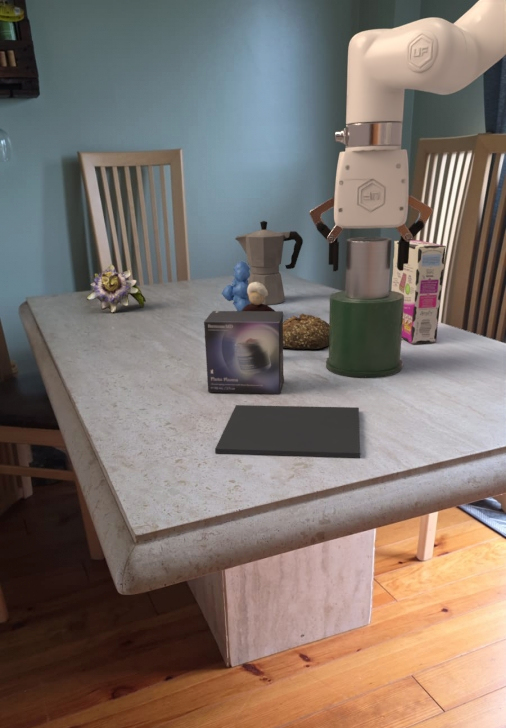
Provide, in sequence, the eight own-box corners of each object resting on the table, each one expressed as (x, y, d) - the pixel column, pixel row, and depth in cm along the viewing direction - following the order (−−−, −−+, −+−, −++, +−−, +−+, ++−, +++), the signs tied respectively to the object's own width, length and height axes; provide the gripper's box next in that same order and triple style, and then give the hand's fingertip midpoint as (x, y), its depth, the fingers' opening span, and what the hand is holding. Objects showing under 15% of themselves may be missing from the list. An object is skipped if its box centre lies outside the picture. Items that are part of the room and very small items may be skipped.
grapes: (223, 316, 134) (220, 258, 130) (254, 314, 134) (253, 257, 130) (222, 328, 124) (218, 266, 119) (255, 327, 124) (253, 265, 119)
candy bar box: (438, 343, 109) (447, 245, 102) (411, 345, 108) (418, 246, 101) (412, 328, 119) (419, 238, 112) (387, 330, 118) (392, 240, 111)
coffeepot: (236, 306, 144) (232, 223, 136) (239, 298, 152) (236, 220, 145) (303, 304, 143) (303, 221, 135) (302, 296, 151) (302, 218, 144)
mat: (358, 411, 80) (358, 407, 80) (359, 457, 67) (360, 452, 67) (236, 409, 82) (235, 404, 82) (215, 453, 70) (214, 448, 69)
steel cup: (387, 291, 96) (390, 236, 92) (389, 299, 90) (393, 241, 87) (345, 291, 97) (346, 237, 93) (345, 299, 91) (346, 241, 87)
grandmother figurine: (236, 364, 101) (232, 284, 96) (236, 357, 105) (232, 280, 99) (283, 362, 101) (282, 282, 96) (281, 355, 105) (280, 278, 99)
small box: (206, 394, 88) (201, 320, 84) (215, 379, 94) (210, 310, 90) (280, 395, 87) (279, 320, 82) (284, 380, 92) (283, 310, 88)
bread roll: (321, 353, 105) (321, 324, 103) (255, 347, 110) (254, 319, 108) (344, 335, 116) (344, 308, 114) (282, 331, 120) (282, 305, 118)
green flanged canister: (399, 356, 102) (404, 287, 98) (404, 378, 92) (410, 302, 87) (327, 355, 104) (328, 288, 99) (324, 377, 93) (325, 303, 89)
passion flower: (117, 335, 144) (80, 297, 137) (113, 317, 153) (78, 280, 145) (155, 305, 142) (120, 265, 135) (148, 289, 151) (115, 250, 144)
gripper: (307, 141, 82) (307, 274, 90) (442, 135, 80) (431, 273, 87) (311, 142, 89) (310, 266, 96) (435, 137, 87) (425, 265, 94)
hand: (367, 269), depth 92 cm, fingers open, 9 cm apart
